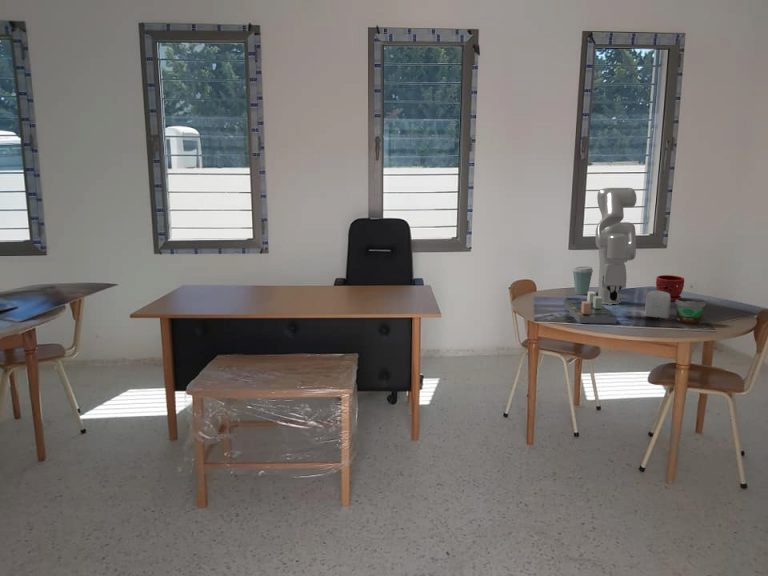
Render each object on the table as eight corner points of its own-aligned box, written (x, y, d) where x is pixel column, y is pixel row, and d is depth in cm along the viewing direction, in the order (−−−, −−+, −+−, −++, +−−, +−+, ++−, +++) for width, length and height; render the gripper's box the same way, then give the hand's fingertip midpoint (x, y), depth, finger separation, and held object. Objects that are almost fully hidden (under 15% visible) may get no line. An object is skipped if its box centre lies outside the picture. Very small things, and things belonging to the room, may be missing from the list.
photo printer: (669, 317, 264) (671, 291, 262) (668, 319, 261) (670, 292, 258) (645, 314, 270) (647, 289, 268) (644, 316, 267) (645, 290, 264)
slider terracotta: (587, 311, 263) (588, 301, 262) (590, 314, 259) (590, 303, 258) (581, 311, 264) (581, 301, 263) (583, 314, 259) (584, 303, 258)
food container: (674, 323, 253) (676, 301, 251) (673, 320, 259) (674, 298, 257) (706, 325, 249) (708, 303, 247) (703, 322, 254) (705, 300, 252)
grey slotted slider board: (596, 306, 288) (596, 300, 288) (616, 323, 255) (616, 317, 254) (563, 306, 290) (563, 300, 289) (579, 323, 257) (579, 316, 256)
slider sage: (599, 306, 273) (599, 296, 272) (601, 308, 269) (602, 298, 268) (592, 306, 274) (593, 296, 273) (595, 308, 269) (595, 298, 268)
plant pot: (649, 298, 303) (650, 276, 300) (666, 296, 308) (667, 274, 306) (671, 303, 291) (673, 280, 289) (688, 300, 297) (690, 277, 294)
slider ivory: (593, 301, 284) (593, 291, 283) (595, 303, 280) (596, 293, 279) (587, 301, 284) (587, 291, 283) (589, 303, 280) (589, 293, 279)
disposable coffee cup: (575, 295, 313) (576, 268, 310) (568, 291, 324) (569, 265, 321) (594, 295, 313) (596, 268, 310) (587, 291, 324) (588, 265, 321)
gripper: (629, 260, 269) (627, 298, 272) (596, 260, 270) (594, 298, 273) (634, 262, 262) (632, 301, 265) (601, 262, 263) (598, 301, 266)
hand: (613, 300), depth 269 cm, fingers closed
